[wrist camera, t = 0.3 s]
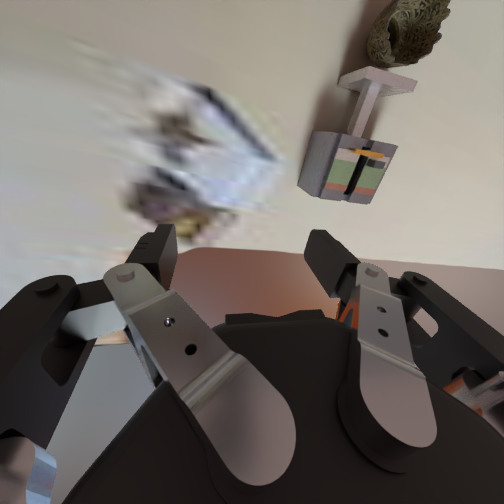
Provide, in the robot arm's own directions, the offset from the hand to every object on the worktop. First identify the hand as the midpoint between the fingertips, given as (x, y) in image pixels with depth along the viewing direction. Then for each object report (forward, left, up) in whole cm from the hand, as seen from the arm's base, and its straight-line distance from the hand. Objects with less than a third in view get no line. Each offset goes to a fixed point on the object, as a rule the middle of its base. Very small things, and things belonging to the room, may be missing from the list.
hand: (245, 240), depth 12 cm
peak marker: (-4, +23, -20) cm, 31 cm away
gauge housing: (-2, +21, -28) cm, 35 cm away
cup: (-19, +21, -29) cm, 41 cm away
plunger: (-10, +21, -28) cm, 36 cm away
